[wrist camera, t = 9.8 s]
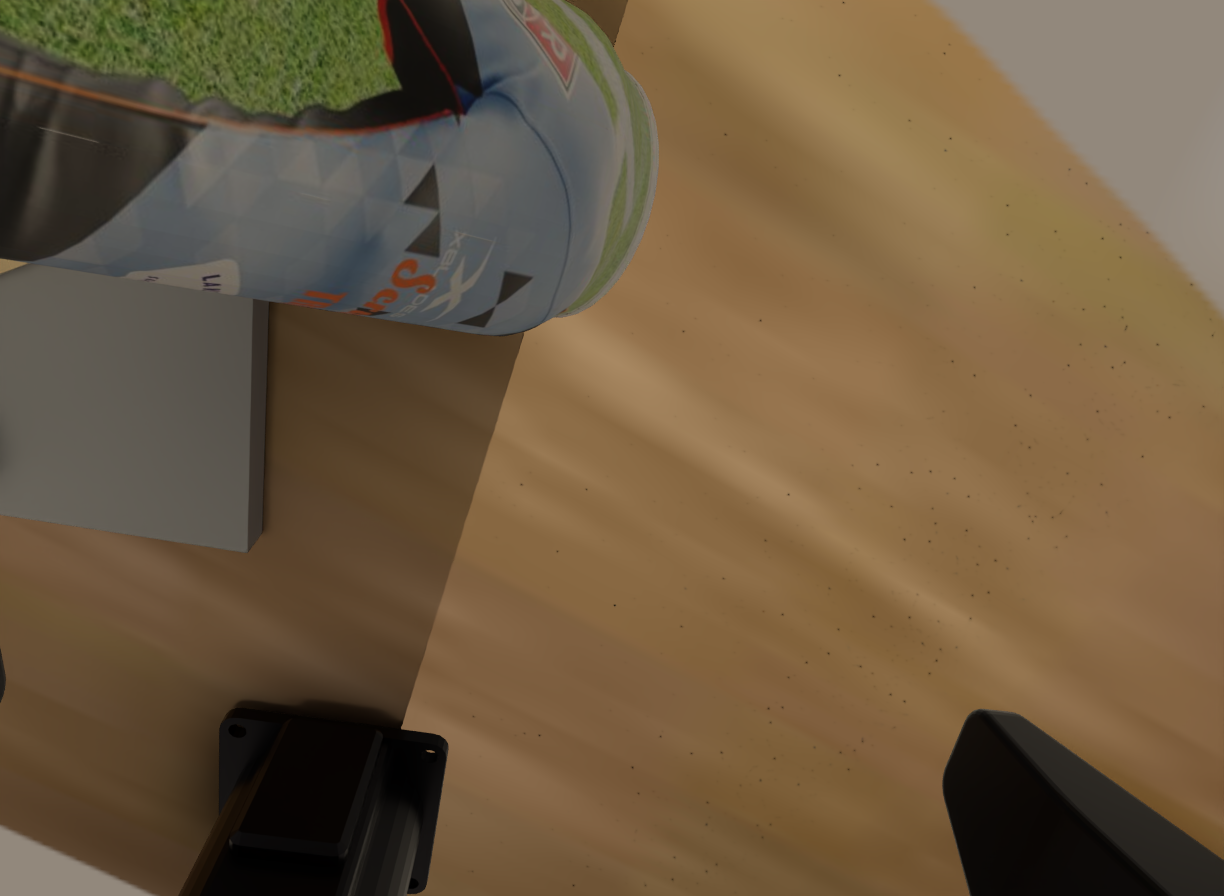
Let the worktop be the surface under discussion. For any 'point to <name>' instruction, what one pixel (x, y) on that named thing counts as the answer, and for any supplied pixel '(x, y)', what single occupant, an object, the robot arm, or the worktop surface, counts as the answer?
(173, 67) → the beverage can
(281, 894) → the robot arm
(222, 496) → the base
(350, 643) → the worktop surface
